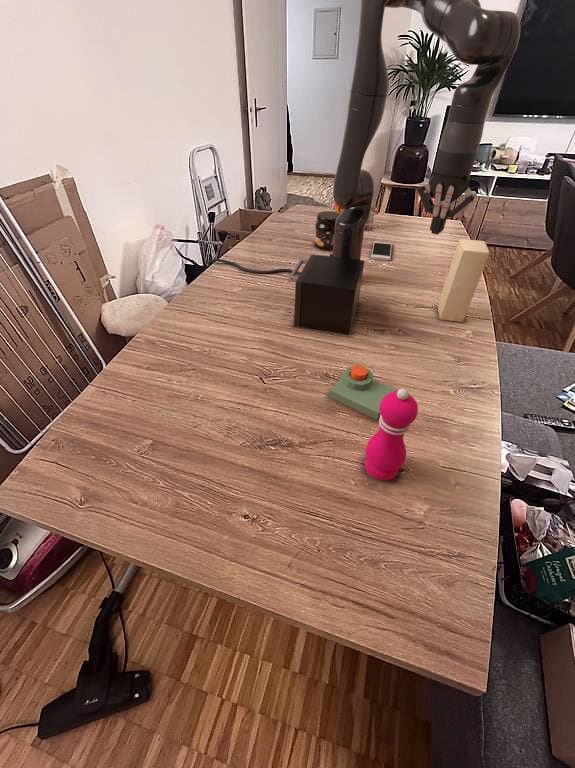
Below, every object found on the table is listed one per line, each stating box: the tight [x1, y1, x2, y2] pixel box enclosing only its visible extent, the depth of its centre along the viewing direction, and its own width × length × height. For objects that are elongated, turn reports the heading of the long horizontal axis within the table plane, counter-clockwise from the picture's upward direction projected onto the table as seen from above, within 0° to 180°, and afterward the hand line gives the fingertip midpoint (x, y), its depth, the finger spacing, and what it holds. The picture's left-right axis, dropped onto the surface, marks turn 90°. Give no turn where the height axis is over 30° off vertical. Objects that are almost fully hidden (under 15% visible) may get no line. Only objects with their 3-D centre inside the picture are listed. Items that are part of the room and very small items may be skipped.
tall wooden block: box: [437, 238, 490, 323], centre depth 105 cm, size 8×7×21 cm
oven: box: [299, 254, 365, 336], centre depth 107 cm, size 14×18×14 cm
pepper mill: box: [364, 388, 419, 481], centre depth 65 cm, size 7×7×20 cm
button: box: [350, 364, 368, 381], centre depth 85 cm, size 4×4×2 cm
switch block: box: [328, 365, 397, 421], centre depth 84 cm, size 12×10×4 cm
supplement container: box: [313, 210, 340, 251], centre depth 146 cm, size 10×10×12 cm
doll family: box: [331, 202, 380, 231], centre depth 161 cm, size 21×10×13 cm, turn 65°
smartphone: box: [370, 240, 393, 261], centre depth 146 cm, size 7×16×1 cm, turn 166°
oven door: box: [287, 254, 318, 328], centre depth 109 cm, size 4×18×14 cm, turn 164°
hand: (435, 233), depth 88 cm, fingers closed
